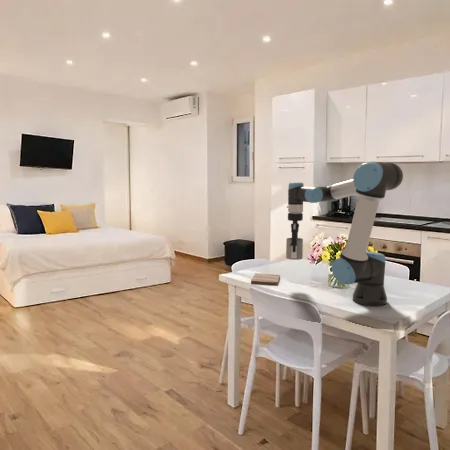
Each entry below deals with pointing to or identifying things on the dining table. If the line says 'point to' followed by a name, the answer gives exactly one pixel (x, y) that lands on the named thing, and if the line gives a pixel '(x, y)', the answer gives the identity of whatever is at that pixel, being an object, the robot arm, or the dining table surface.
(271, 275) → the walnut board
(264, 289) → the dining table surface
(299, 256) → the cup
